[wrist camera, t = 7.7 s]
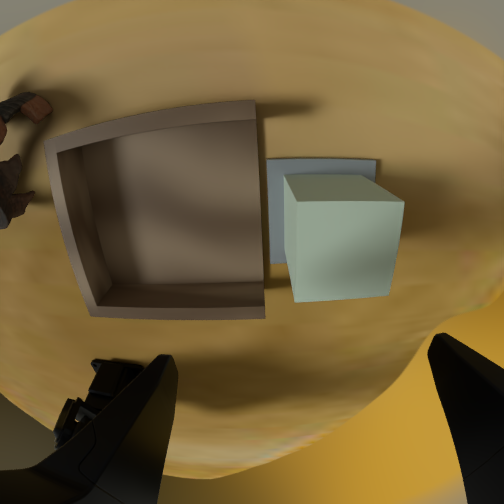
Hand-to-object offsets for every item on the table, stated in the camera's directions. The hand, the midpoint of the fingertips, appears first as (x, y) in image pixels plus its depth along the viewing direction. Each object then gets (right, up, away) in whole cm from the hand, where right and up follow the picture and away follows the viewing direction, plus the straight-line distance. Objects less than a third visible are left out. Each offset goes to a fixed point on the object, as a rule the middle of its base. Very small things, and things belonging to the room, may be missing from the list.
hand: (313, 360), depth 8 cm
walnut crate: (-8, +6, +10) cm, 14 cm away
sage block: (+3, +6, +9) cm, 12 cm away
